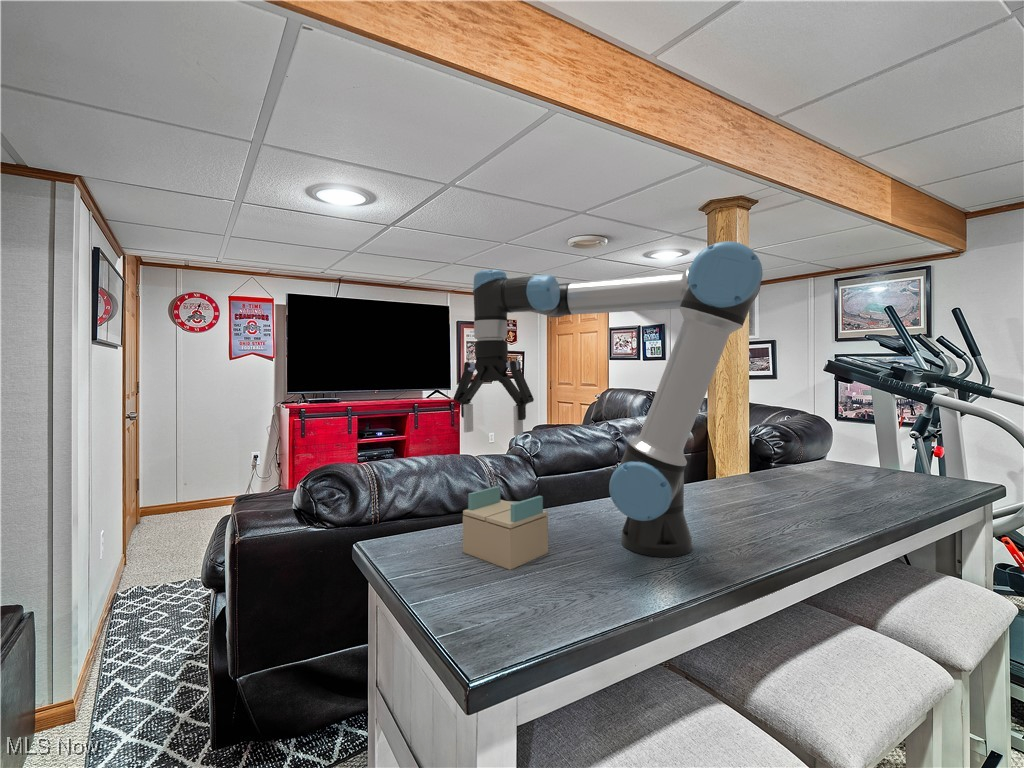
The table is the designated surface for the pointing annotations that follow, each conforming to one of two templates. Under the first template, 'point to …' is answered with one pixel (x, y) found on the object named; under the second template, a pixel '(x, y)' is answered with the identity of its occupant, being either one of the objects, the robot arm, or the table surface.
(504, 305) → the robot arm
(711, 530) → the table surface
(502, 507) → the lid
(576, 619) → the table surface
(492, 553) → the carton
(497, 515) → the lid near
